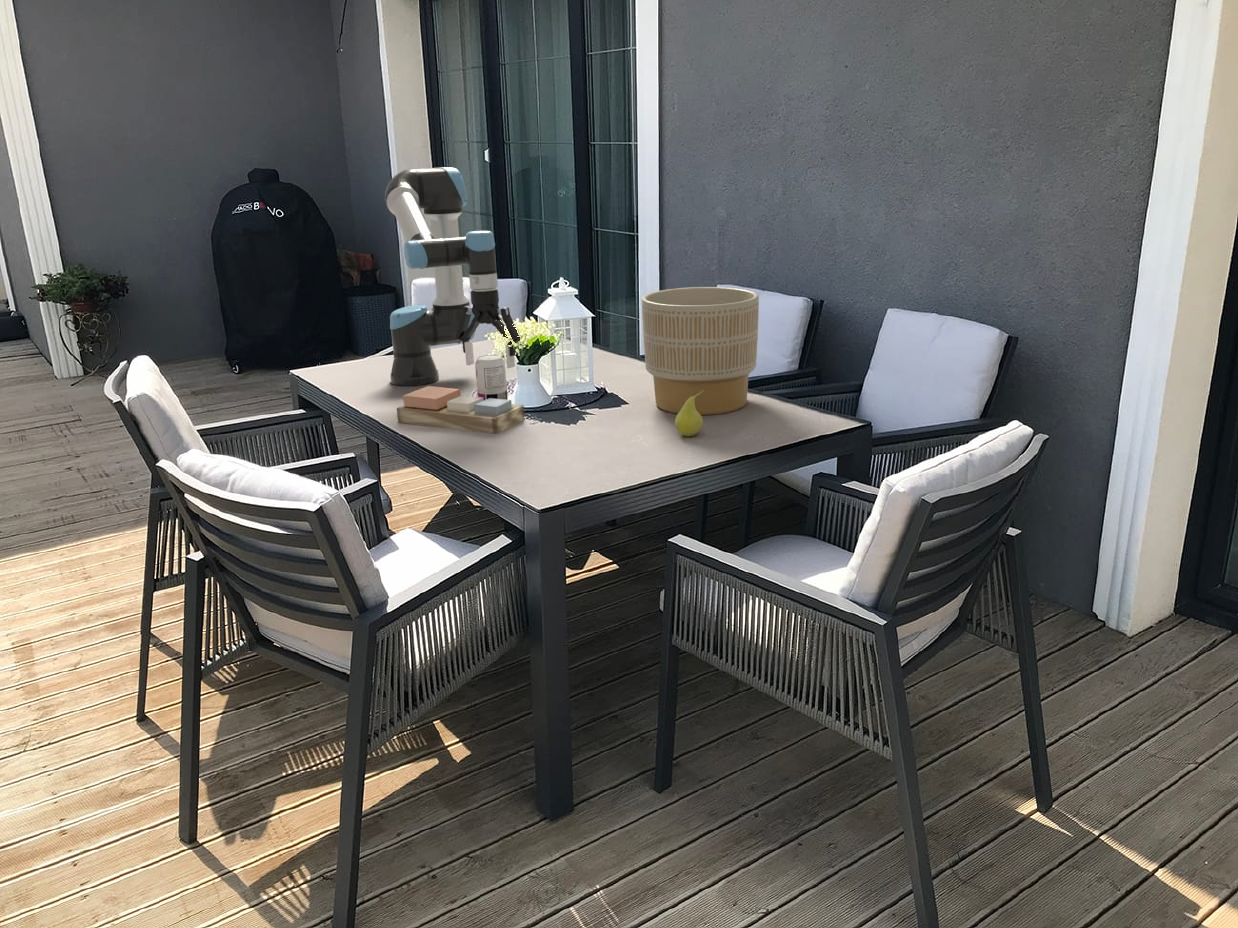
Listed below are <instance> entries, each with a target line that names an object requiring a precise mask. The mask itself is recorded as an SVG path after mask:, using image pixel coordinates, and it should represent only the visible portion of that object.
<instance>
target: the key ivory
mask: <svg viewBox="0 0 1238 928" xmlns="http://www.w3.org/2000/svg"><path fill="white" fill-rule="evenodd" d="M482 401H484V400H483V397H478V396H472V395H470V396H469V395H463V394H462V395H461V396H459V397H457V398H455V399H452V400H450V401H447V408H448V410H450V411H459V412H469V413H470V412H472V411H474V410H475V404H477V403H480V402H482Z"/></svg>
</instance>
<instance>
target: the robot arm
mask: <svg viewBox="0 0 1238 928" xmlns="http://www.w3.org/2000/svg"><path fill="white" fill-rule="evenodd" d="M385 188H386V189H385V193H384V201H385V204H386V207H387V208H388V210H389V211H390V213H392V215H394V216H395V219H396V221H397V223H398V225H399V227H400V230H401V232H402V234H403V236H404V238H405V241H406V242H405V243H404V246H403V252H404V253H403V254H404V260H405V263H406V266H407V267H408V268H409V269H416V270H417V269H420V270H423V269H424V270H425V269H428V268H429V269H430V268H433V270H434V282H435V293H436V295H435V296H436V297H435V299H434V300H432V308H428V307H427V306H426V305H425V304H417V305H416V304H415V305H407V306H404V307H400V308H398V309H395V310H394V311H392V312H391V314H390V316H389V329H390V333H391V341H392V342H391V343H392V352H393V361H392V366H391V372H390V375H389V376H390V383H391V384H392V385H396V386H400V387H401V386H403V387H409V386H410V387H411V386H421V385H422V386H423V385H427V384H432V383H434V382H437V381H438V380H439V379H440V375H439V370H438V369H437V367H436V363H435V361H434V359H433V357H432V352H431V350H432V349H431V347H434V346H435V347H436V346H442V345H443V346H444V345H451V344H452V345H453V344H458V345H459V344H462V352H463V353H464V354H465V364H466V366H471V365H473V364H474V365H475V357H474V345H473V339H474V337H475V334H476V331H477V328H478V327H479V326H480V325H481V324H486V325H492V326H494V327H495V329H496V330H497V331H498V332H499V334H500V335H501V336H502V334H503V336H502V338H503V337H506V336H507V335H506V334H505V331H504V326H506V328H507V329H508V331H509V333H510V335H511V337H512V339H513V341H514V342H515V343H516V344H517V343H519V342H521V341H520V337H517V336H519V335H518V333H517V330H518V329H517V330H516V329H515V328H517V326H516V324H515V322H514V319H513V318H512V316H511V312H510V311H511V310H510V308H509V306H505V307H503V308H502V307H501V308H500V306H499V301H500V300H499V298H500V297H499V289H498V288H499V287H498V285H499V284H498V283H499V282H498V273H497V261H496V259H497V258H496V248H495V247H496V242H495V238H494V233H493V232H492V231H490V230H473V231H467V232H466V234H465V235H464V236H460V231H459V220H458V219H459V217H460V216H461V214H462V213H463V208H464V207H465V206H466V205H467V203H468V193H467V188H466V185H465V181H464V178H463V175H462V173H461V172H460V170H458V169H457V168H455V167H444V166H440V167H431V168H429V167H427V168H409V169H405V170H402V171H400V172H398V173H397V174H396V175H394V176H393V177H392V178H391V179H390V180H389V182H388V184H387V185H386V187H385ZM462 207H463V208H462ZM422 210H423V211H422ZM426 218H427V219H429V222H428V221H427V220H426ZM428 223H429V224H428ZM464 265H467V268H468V277H469V278H468V279H469V289H471V291H470V292H469V293H470V299H469V298H467V297H466V296H465V292H464V291H465V290H464V280H463V279H464V278H463V268H462V266H464ZM470 301H471V303H470ZM500 316H501V317H500ZM500 320H501V321H502V322H501V321H500ZM513 323H514V324H513ZM512 324H513V325H512ZM501 325H502V326H501ZM514 325H515V326H516V327H513V326H514ZM505 330H506V329H505ZM505 335H506V336H505ZM506 338H508V337H506ZM518 341H519V342H518ZM506 344H507V345H506ZM506 344H505V355H506V356H505V357H506V368H507V369H511V368H514V367H515V366H516V364H515V363H516V361H515V356H516V355H515V351H514V348H513V346H512V347H509V346H508V345H511V344H512V342H511V341H510V342H509V343H506Z"/></svg>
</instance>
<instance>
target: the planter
mask: <svg viewBox="0 0 1238 928" xmlns="http://www.w3.org/2000/svg"><path fill="white" fill-rule="evenodd" d="M759 296H760V295H759V293H757V292H755V291H754V290H753V291H752V290H749V289H744V288H743V289H742V288H737V287H726V286H725V287H723V286H722V287H721V286H720V287H719V286H697V287H696V286H692V287H691V286H690V287H679V288H669V289H663V290H657V291H652V292H649V293H647V294H644V295H643V296H642V297H641V311H642V312H641V313H642V315H641V316H642V331H643V332H642V333H643V334H642V335H643V348H644V349H643V350H644V360H645V361H644V362H645V364H644V365H645V370H646V371H647V372H648V374H650V375H651V376H653V386H654V387H653V388H654V389H653V390H654V397H655V404H656V406H657V407H658V408H659V409H661V410H663V411H665V412H667V413H671V414H677V415H678V413H679V412H680V410H681V409H682V407H683V406H684V404H685V402H686V401H687V400H688V399H689V398H690V397H692V396H695V395H696V394H698V393H700V392H701V391H702V390H703V389H704V390H705V391H704V392H703V393H701V394H699V395H698V396H696V397H695V408H696V411H697V412H698V413H699V414H700V415H701V416H712V415H714V416H715V415H723V414H726V413H727V414H728V413H732V412H734V411H738V410H740V409H742V408H743V407H744V406H746V403H747V400H748V391H749V390H748V388H749V387H748V385H749V374H751V373H752V372H753V371H755V369H756V367H757V360H758V358H757V357H758V338H759V337H758V336H759V312H760V311H759V307H760V305H759V303H760V301H759V299H760V297H759Z"/></svg>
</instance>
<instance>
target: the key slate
mask: <svg viewBox="0 0 1238 928" xmlns="http://www.w3.org/2000/svg"><path fill="white" fill-rule="evenodd" d="M512 404H513V403H512V400H510V399H508V400H503V399H493V398H489V399H486V400H484V401H482V402H480V403H477V404H475V413H478V414H487V415H496V416H498V415H501V414H503V413H505V412H507V411H509V410H511V409H512Z"/></svg>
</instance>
